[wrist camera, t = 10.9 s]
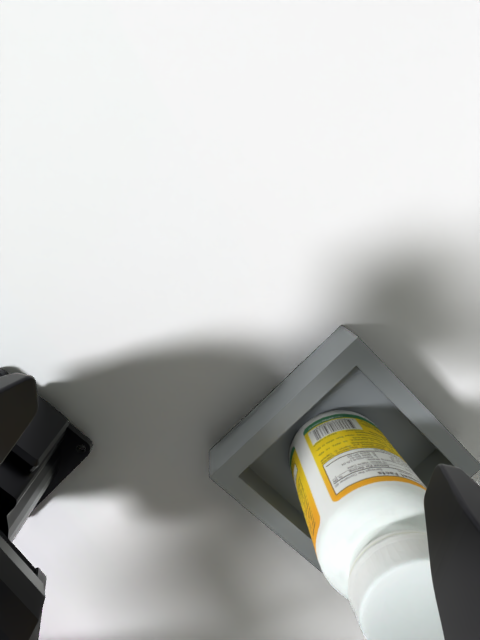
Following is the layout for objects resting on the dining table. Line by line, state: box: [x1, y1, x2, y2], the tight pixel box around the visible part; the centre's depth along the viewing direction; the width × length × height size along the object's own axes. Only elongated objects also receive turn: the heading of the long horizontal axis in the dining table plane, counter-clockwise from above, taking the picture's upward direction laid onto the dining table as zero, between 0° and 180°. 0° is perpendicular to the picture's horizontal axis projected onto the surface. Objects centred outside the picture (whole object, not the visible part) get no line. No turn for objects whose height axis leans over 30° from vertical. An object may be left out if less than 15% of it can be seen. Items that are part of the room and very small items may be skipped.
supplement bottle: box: [289, 410, 445, 640], centre depth 18 cm, size 5×5×10 cm
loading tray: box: [209, 325, 480, 573], centre depth 22 cm, size 10×10×2 cm
